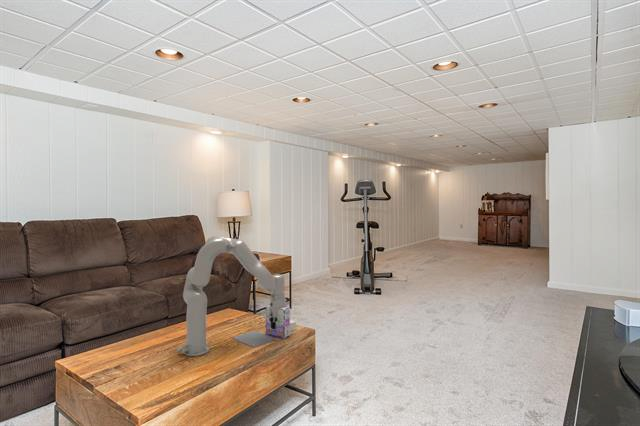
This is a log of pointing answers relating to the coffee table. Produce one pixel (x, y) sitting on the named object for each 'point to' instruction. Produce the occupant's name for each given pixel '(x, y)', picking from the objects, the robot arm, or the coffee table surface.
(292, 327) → the cream block
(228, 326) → the coffee table surface
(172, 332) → the coffee table surface
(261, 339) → the grey mat
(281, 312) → the candy box
